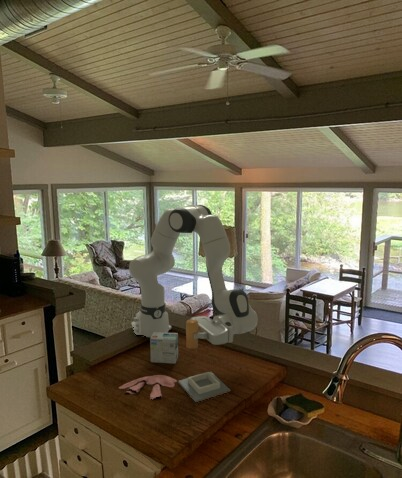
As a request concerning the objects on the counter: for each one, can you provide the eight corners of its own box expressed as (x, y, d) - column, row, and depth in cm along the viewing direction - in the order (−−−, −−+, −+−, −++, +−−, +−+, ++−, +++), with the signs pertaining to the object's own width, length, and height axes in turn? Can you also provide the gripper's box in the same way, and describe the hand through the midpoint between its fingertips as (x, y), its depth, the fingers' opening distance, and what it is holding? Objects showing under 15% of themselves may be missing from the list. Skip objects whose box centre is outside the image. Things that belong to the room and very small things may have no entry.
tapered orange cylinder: (184, 345, 147) (184, 320, 146) (194, 342, 150) (194, 318, 148) (189, 350, 144) (189, 324, 142) (200, 347, 146) (200, 322, 144)
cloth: (183, 379, 146) (183, 373, 145) (161, 414, 125) (161, 407, 125) (134, 371, 151) (134, 365, 151) (105, 403, 131) (105, 396, 130)
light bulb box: (178, 356, 162) (178, 332, 160) (175, 364, 156) (175, 339, 154) (153, 354, 163) (153, 331, 161) (150, 362, 157) (149, 338, 155)
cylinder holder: (178, 383, 142) (178, 375, 141) (211, 374, 148) (211, 366, 148) (195, 403, 130) (195, 395, 129) (230, 392, 136) (230, 384, 136)
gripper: (208, 310, 160) (178, 316, 154) (235, 328, 142) (202, 335, 136) (208, 324, 161) (178, 330, 155) (234, 344, 143) (202, 352, 137)
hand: (190, 333), depth 145 cm, fingers closed on tapered orange cylinder, 4 cm apart
